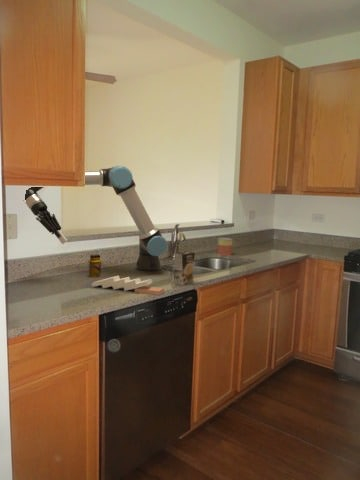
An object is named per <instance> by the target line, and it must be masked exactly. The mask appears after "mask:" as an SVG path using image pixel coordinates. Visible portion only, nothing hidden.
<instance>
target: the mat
mask: <svg viewBox="0 0 360 480" xmlns="http://www.w3.org/2000/svg"><path fill="white" fill-rule="evenodd" d="M94 282H95V281H91V282H89V283H86V284H84V285H81V286H80V288H85V289H93V290H102V291H111V292H116V293H118V292H119V293H126V294H135V295H139V294H140V293H137V292H135V288H134V289H130V290H126V291H125V290H124V287H122V288H118V289H114V290H113V287H112V286H110V287H107V288H103V287H102V285H99V286H95V287H92V283H94Z"/></svg>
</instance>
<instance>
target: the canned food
mask: <svg viewBox="0 0 360 480" xmlns="http://www.w3.org/2000/svg"><path fill="white" fill-rule="evenodd" d="M233 242H234V239H233V238H230V237H218V238H217V247H216V248H217V250H216V251H217V252H216V255H217V254H221V255H220V256H222V255H231V254H232V255H233ZM232 255H231V256H232Z"/></svg>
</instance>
